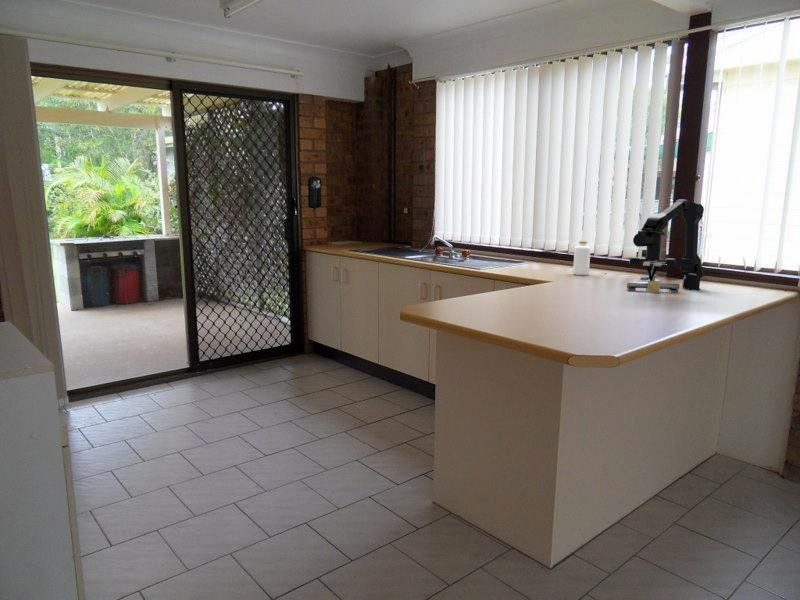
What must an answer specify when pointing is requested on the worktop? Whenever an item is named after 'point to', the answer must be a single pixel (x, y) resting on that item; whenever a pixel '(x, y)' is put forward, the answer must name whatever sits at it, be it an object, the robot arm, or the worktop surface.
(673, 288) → the pipe run
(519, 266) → the worktop surface
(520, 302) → the worktop surface
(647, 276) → the valve lever
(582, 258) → the potion bottle
